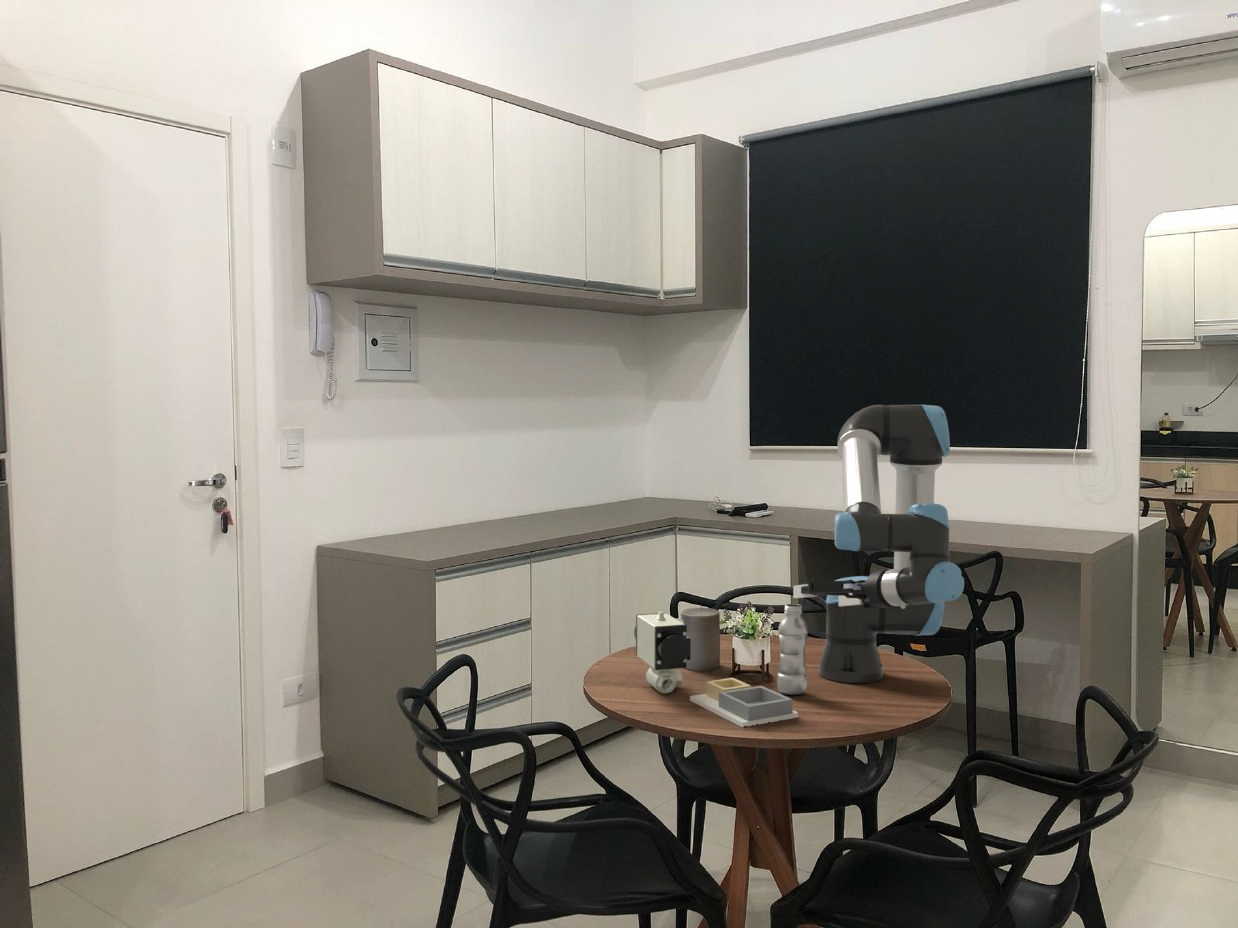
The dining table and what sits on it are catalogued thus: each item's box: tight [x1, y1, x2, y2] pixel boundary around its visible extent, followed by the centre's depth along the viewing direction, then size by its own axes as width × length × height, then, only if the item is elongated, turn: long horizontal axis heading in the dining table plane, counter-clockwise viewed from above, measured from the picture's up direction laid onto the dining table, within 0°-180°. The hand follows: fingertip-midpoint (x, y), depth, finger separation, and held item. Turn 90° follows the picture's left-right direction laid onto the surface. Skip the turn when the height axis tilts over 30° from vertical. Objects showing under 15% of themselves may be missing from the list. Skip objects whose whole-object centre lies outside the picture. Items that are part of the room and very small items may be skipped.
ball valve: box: [633, 611, 691, 695], centre depth 223 cm, size 18×8×18 cm, turn 18°
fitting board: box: [689, 677, 799, 728], centre depth 210 cm, size 14×20×4 cm
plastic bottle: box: [776, 603, 809, 696], centre depth 220 cm, size 6×7×20 cm
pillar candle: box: [679, 607, 721, 672], centre depth 243 cm, size 10×10×15 cm
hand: (817, 596), depth 218 cm, fingers open, 13 cm apart
